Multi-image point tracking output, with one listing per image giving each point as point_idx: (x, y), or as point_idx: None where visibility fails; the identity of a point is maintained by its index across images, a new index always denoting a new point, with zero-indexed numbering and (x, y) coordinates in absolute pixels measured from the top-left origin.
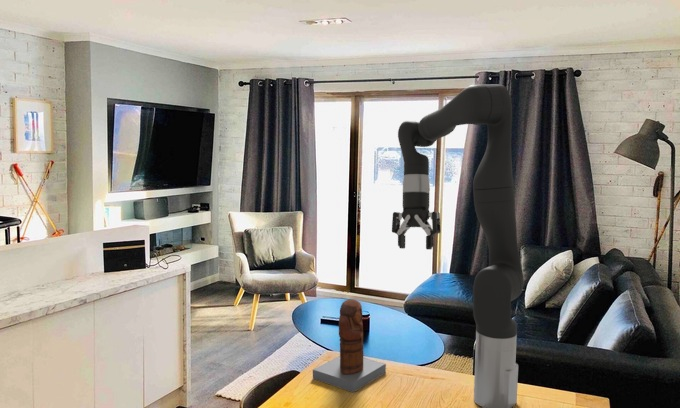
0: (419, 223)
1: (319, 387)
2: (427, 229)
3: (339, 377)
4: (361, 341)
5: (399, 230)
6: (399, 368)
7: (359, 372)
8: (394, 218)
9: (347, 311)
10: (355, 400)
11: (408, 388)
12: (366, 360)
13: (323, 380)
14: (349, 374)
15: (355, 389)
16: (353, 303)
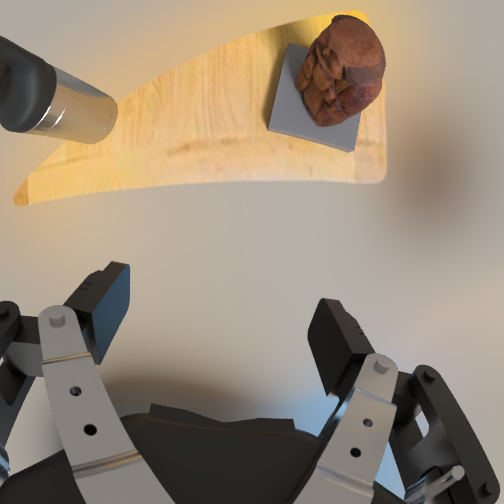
0: (109, 416)
1: None
2: (49, 344)
3: None
4: (305, 61)
5: (386, 382)
6: (251, 158)
7: (295, 76)
8: (472, 456)
9: (346, 15)
10: (272, 32)
11: (211, 92)
12: (306, 126)
13: None
14: None
15: (285, 53)
16: (347, 24)
